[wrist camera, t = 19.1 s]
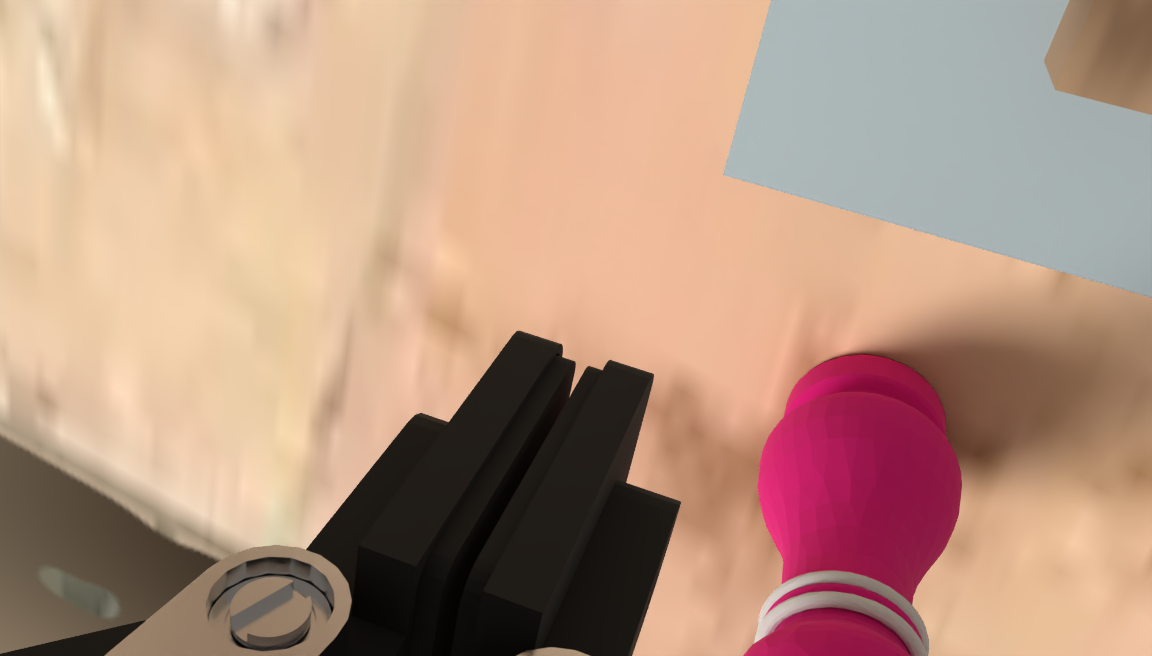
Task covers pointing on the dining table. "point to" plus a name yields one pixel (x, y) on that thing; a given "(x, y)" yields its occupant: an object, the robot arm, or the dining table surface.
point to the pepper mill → (855, 510)
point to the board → (949, 131)
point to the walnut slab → (1104, 52)
